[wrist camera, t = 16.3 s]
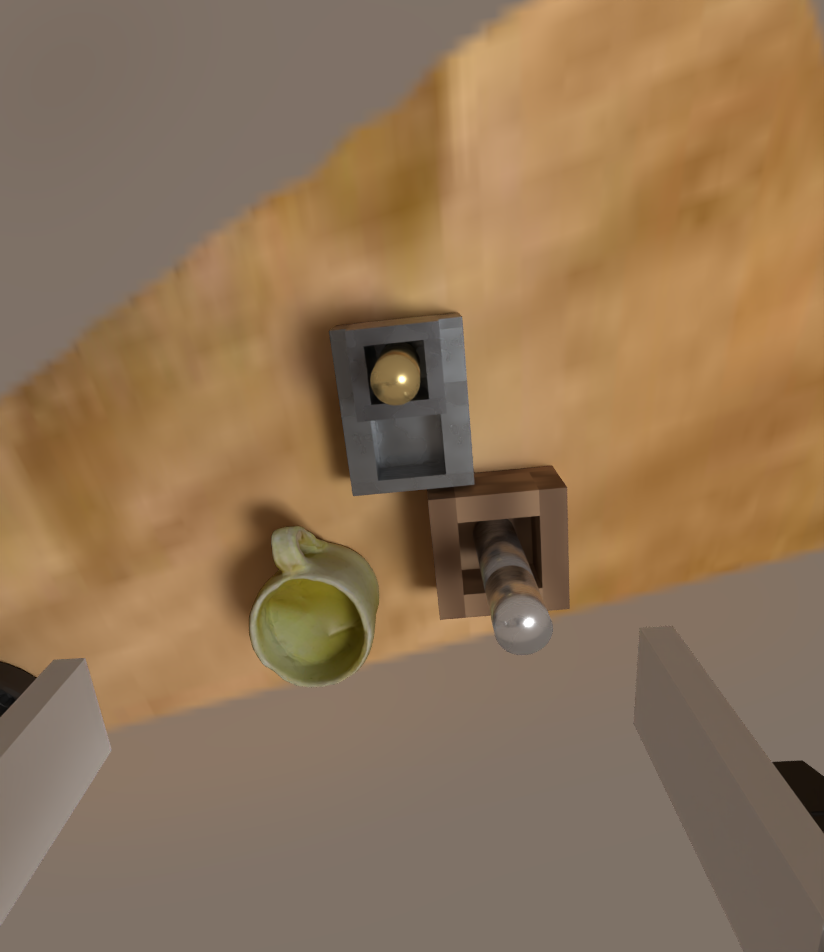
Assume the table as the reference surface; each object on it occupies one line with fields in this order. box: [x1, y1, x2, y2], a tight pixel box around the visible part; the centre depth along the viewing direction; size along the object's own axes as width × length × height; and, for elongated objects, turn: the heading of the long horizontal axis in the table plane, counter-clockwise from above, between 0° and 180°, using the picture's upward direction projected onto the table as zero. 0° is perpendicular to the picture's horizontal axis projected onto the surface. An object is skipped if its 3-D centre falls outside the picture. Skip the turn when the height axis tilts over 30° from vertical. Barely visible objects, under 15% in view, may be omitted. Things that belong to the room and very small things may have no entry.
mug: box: [249, 526, 379, 687], centre depth 47 cm, size 12×10×10 cm
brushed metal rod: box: [473, 519, 553, 655], centre depth 42 cm, size 3×3×14 cm
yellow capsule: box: [370, 342, 420, 405], centre depth 37 cm, size 3×3×7 cm
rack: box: [427, 466, 570, 620], centre depth 47 cm, size 10×10×5 cm
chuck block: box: [329, 313, 475, 496], centre depth 42 cm, size 9×12×9 cm
